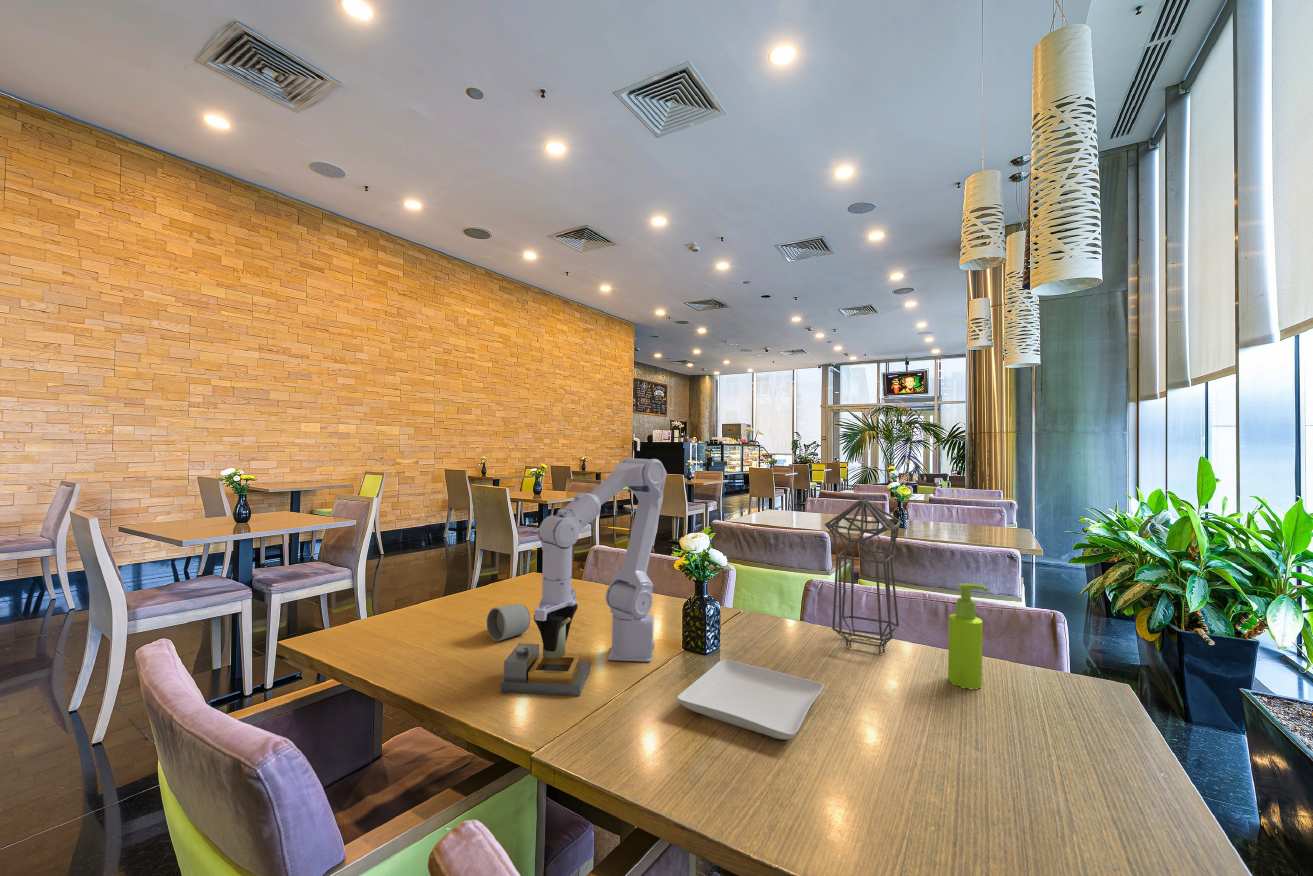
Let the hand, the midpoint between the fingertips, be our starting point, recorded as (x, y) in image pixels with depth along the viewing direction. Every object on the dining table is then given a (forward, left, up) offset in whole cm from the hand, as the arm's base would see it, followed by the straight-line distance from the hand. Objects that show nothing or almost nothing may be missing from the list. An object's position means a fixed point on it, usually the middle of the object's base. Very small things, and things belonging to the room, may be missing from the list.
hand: (555, 645), depth 104 cm
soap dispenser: (-83, -7, -7) cm, 84 cm away
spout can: (0, 0, -2) cm, 2 cm away
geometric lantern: (-68, -25, -7) cm, 73 cm away
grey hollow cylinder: (+18, -23, -7) cm, 30 cm away
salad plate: (-38, +6, -8) cm, 39 cm away
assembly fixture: (+1, 0, -7) cm, 7 cm away
